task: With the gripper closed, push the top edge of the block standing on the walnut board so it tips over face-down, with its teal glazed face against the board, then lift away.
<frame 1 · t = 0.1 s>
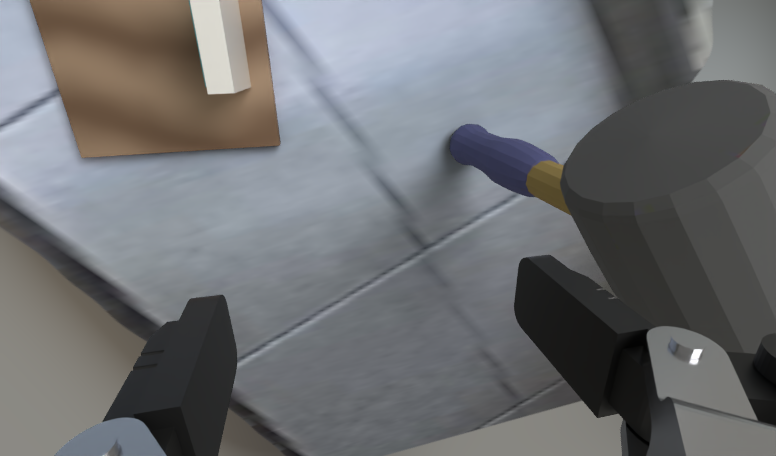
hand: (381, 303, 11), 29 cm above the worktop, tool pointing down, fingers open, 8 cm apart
rubber mallet: (462, 141, 40), on the worktop
board: (163, 36, 31), on the worktop
block: (232, 34, 31), point 1 cm above the worktop, touching board
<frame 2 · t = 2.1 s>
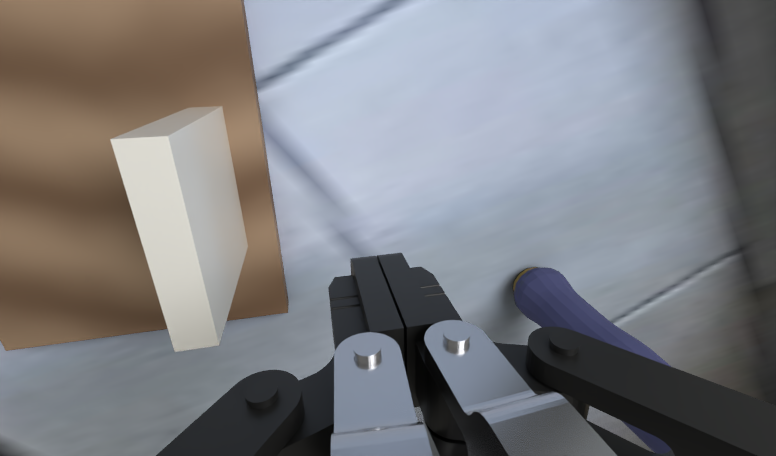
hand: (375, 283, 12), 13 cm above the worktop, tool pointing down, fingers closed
rubber mallet: (527, 280, 30), on the worktop
board: (119, 184, 22), on the worktop
block: (220, 182, 21), point 1 cm above the worktop, touching board
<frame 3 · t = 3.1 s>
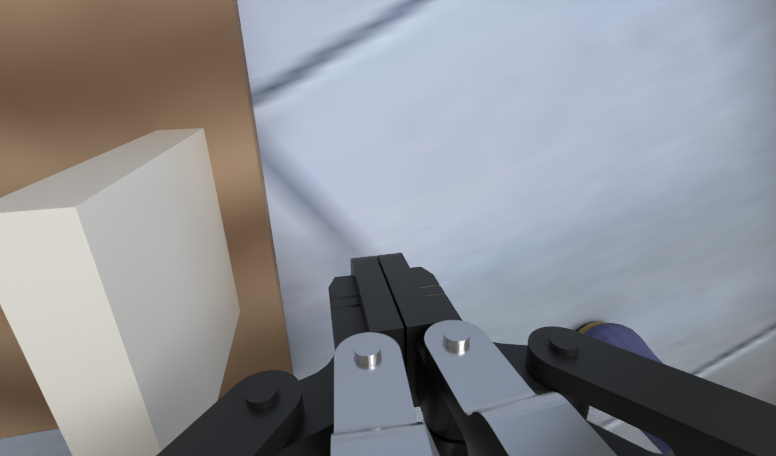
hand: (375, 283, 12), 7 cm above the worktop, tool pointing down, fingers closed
rubber mallet: (587, 335, 25), on the worktop
board: (66, 232, 16), on the worktop
block: (202, 230, 16), point 1 cm above the worktop, touching board
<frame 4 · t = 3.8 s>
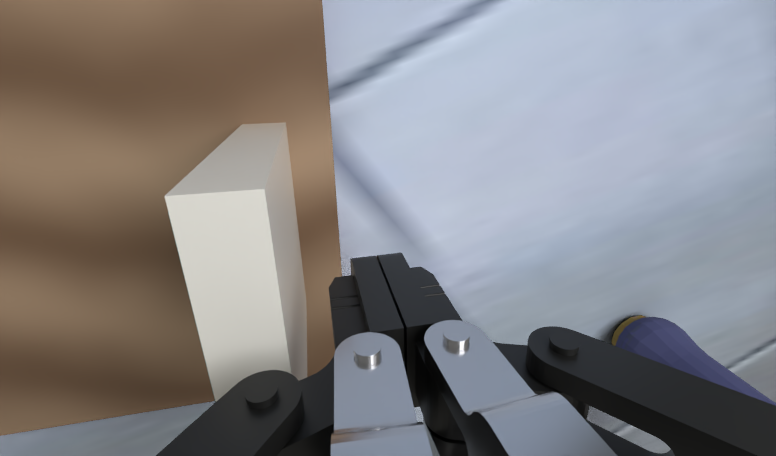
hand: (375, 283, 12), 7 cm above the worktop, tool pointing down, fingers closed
rubber mallet: (627, 329, 25), on the worktop
board: (144, 223, 16), on the worktop
block: (277, 221, 16), point 1 cm above the worktop, touching board, gripper
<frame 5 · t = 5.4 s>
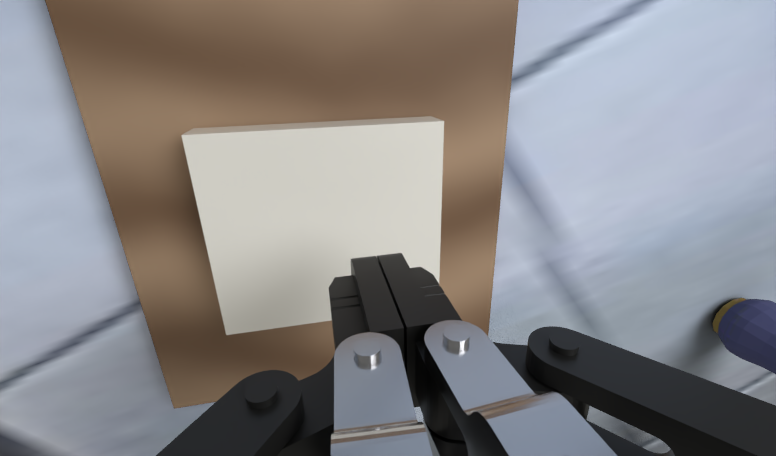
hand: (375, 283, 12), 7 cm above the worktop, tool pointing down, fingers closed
rubber mallet: (725, 312, 26), on the worktop
board: (324, 208, 18), on the worktop
block: (435, 215, 17), point 2 cm above the worktop, tilted 90°, touching board
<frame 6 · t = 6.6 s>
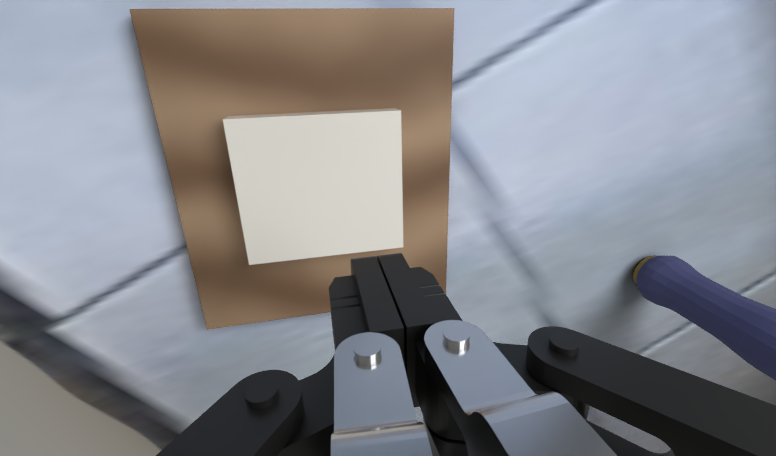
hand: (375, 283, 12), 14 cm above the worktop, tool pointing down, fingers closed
rubber mallet: (644, 268, 33), on the worktop
board: (319, 177, 24), on the worktop
block: (399, 179, 23), point 2 cm above the worktop, tilted 90°, touching board
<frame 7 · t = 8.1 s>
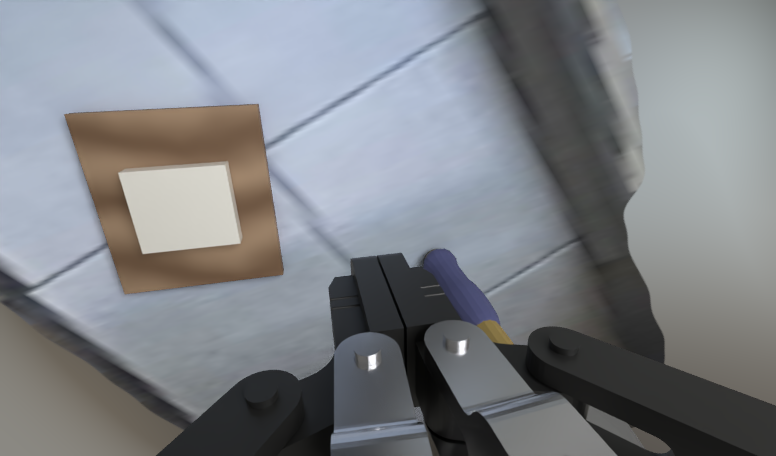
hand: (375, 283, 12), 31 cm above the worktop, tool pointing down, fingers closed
rubber mallet: (434, 257, 48), on the worktop
board: (190, 200, 40), on the worktop
block: (234, 203, 38), point 2 cm above the worktop, tilted 90°, touching board
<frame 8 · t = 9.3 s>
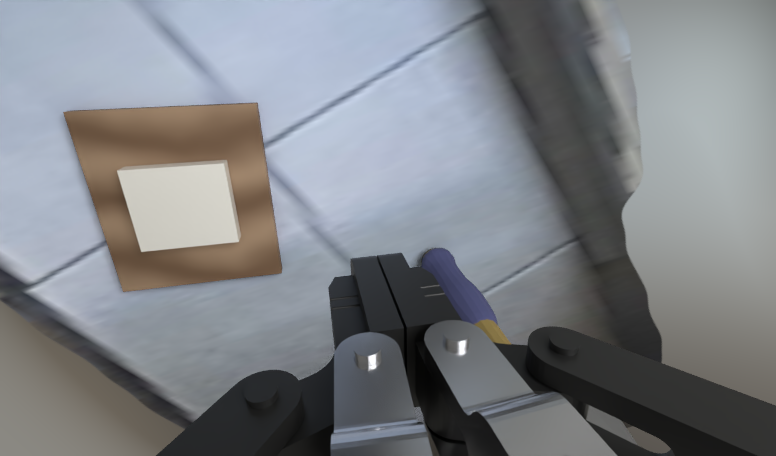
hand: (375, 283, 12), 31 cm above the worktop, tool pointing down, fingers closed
rubber mallet: (433, 257, 48), on the worktop
board: (189, 199, 40), on the worktop
block: (233, 201, 38), point 2 cm above the worktop, tilted 90°, touching board
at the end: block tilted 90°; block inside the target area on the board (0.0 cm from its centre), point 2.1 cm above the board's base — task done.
